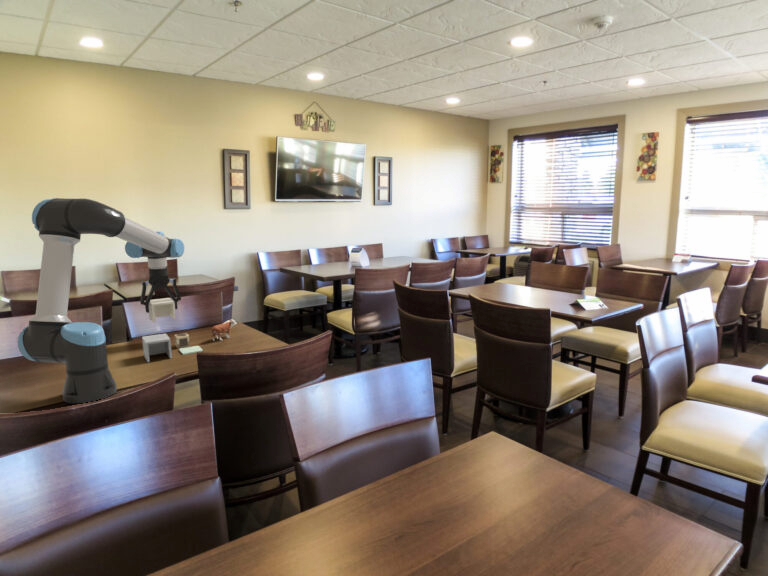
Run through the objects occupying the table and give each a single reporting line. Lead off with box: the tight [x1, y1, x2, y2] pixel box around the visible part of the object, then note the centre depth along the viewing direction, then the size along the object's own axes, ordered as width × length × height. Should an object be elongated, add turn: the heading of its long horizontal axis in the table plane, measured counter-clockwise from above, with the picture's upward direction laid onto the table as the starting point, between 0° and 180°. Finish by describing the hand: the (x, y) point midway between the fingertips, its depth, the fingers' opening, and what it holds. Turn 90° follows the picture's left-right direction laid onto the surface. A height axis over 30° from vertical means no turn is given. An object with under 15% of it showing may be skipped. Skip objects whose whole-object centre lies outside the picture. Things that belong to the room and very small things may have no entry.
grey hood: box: [141, 333, 173, 363], centre depth 199 cm, size 10×9×8 cm
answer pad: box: [178, 345, 204, 356], centre depth 208 cm, size 8×8×1 cm
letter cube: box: [174, 332, 191, 349], centre depth 214 cm, size 5×5×5 cm
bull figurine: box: [211, 318, 238, 342], centre depth 225 cm, size 4×13×8 cm, turn 148°
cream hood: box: [149, 297, 177, 323], centre depth 218 cm, size 10×9×8 cm
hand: (162, 317), depth 219 cm, fingers closed on cream hood, 9 cm apart
